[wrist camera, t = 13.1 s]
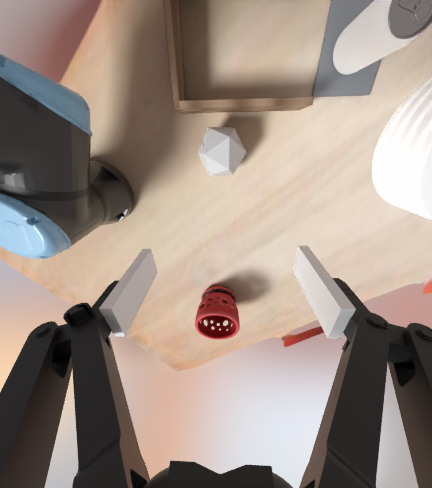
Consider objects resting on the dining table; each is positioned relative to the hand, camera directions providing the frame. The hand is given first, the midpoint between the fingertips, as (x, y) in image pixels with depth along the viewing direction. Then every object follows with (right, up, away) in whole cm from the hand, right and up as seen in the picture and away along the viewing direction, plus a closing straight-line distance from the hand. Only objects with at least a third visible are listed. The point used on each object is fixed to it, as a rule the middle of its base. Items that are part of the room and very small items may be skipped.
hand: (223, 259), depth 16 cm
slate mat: (+22, +34, +14) cm, 43 cm away
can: (+22, +34, +14) cm, 43 cm away
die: (+1, +22, +23) cm, 32 cm away
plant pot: (0, -17, +46) cm, 49 cm away
